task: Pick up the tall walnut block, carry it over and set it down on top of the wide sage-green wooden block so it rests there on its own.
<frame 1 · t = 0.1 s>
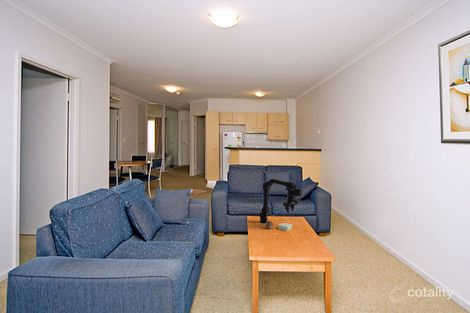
hand: (290, 212, 239), 14 cm above the table, fingers open, 9 cm apart
sage base block: (285, 229, 236), on the table
walnut block: (269, 228, 236), on the table
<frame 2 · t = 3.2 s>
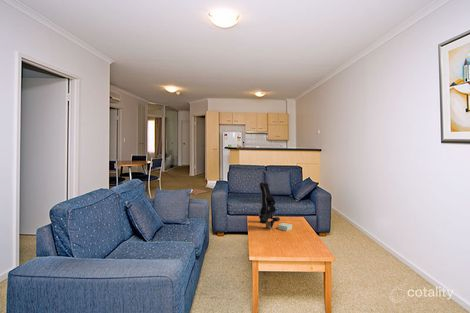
hand: (269, 227, 236), 1 cm above the table, fingers closed on walnut block, 4 cm apart
walnut block: (269, 228, 236), on the table, touching gripper
everything else where it was.
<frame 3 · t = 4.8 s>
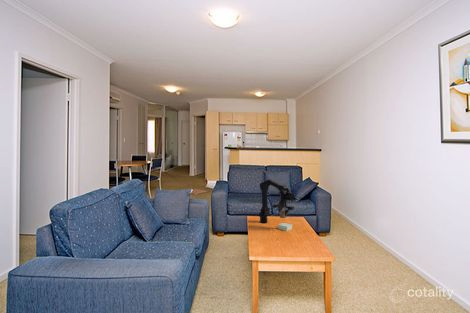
hand: (283, 216, 235), 11 cm above the table, fingers closed on walnut block, 4 cm apart
walnut block: (283, 217, 235), point 10 cm above the table, touching gripper
everything else where it was.
when the fingers open (6 cm above the table, at t = 6.6 s): walnut block drops 1 cm, point 4 cm above the table.
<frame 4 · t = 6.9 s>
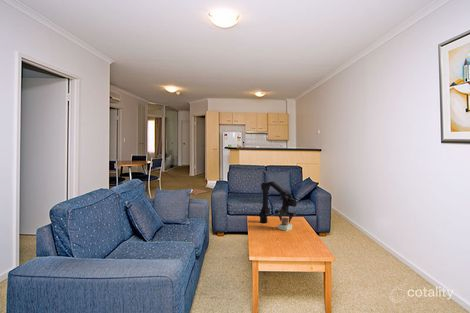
hand: (285, 222, 236), 6 cm above the table, fingers open, 8 cm apart
walnut block: (285, 224, 236), point 4 cm above the table
everything else where it was.
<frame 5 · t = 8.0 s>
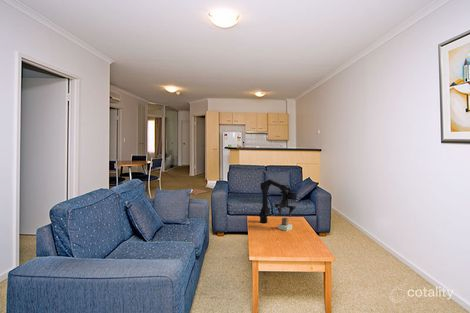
hand: (284, 215, 236), 12 cm above the table, fingers open, 9 cm apart
nothing on the table moved.
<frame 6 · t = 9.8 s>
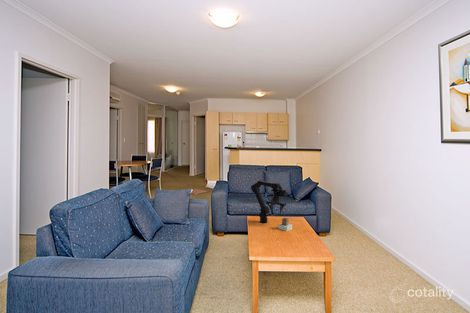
hand: (275, 212, 247), 12 cm above the table, fingers open, 9 cm apart
sage base block: (285, 229, 236), on the table, touching walnut block
walnut block: (285, 224, 235), point 4 cm above the table, touching sage base block
at the end: walnut block 0.3 cm off-centre on the sage base block, point 4.0 cm above the sage base block's base; walnut block tilted 0°; the gripper is holding nothing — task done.
